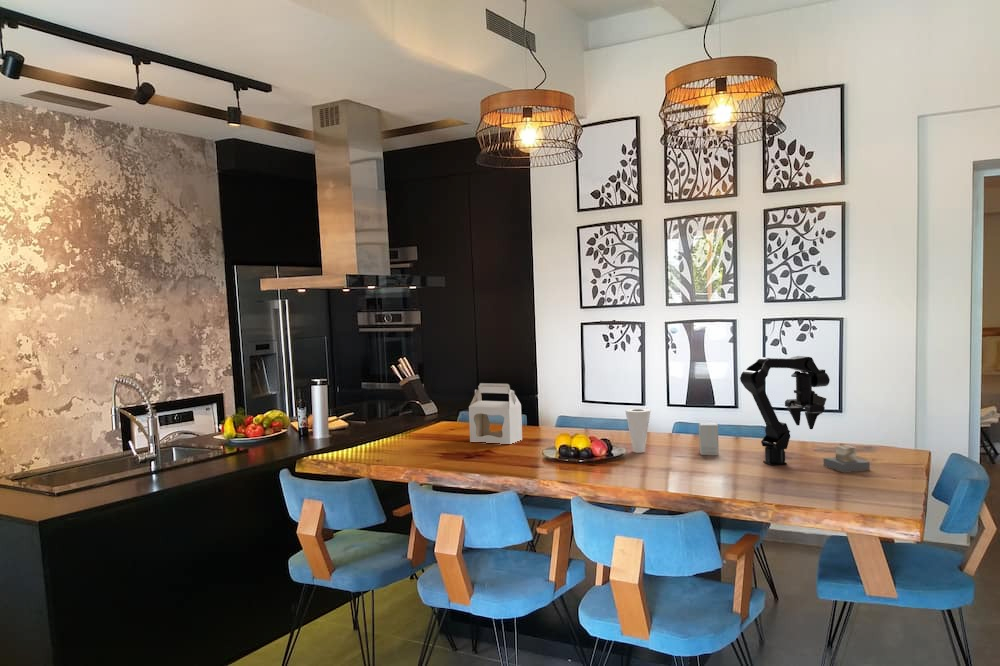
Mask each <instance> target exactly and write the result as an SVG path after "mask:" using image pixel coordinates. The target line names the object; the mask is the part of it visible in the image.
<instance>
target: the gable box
mask: <svg viewBox="0 0 1000 666" xmlns="http://www.w3.org/2000/svg"><path fill="white" fill-rule="evenodd" d="M477 387H478V388H477V389H474V395H473V397H472V400H471V402H470V403H469V406H468V418H469V424H468V425H469V443H471V442H486V443H500V444H499V445H501V444H512V443H514V444H516V443H518V442H517V441H519V442H521V441H523V424H522V423H523V422H522V420H523V418H522V416H523V415H522V404H521V402H520V400H519V399H518V397H517V395H516V391H515V390H513V389H511V385H510V384H509V383H495V382H494V383H492V382H490V383H487V382H486V383H485V382H480V383H479V385H478V386H477ZM482 394H506V395H507V394H508V401H507V400H506V401H505V400H482ZM488 416H502V417H503V419H504V420H503V424H502V428H501V429H500V430H497V431H492V430H491V429H490V426H491V425H490V424H491V422H490V420H489V417H488ZM520 440H521V441H520ZM515 442H516V443H515ZM486 443H485V444H486ZM512 445H513V444H512Z"/></svg>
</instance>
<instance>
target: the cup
mask: <svg viewBox="0 0 1000 666" xmlns="http://www.w3.org/2000/svg"><path fill="white" fill-rule="evenodd" d="M625 415H626V419H627V426H628V431H629V435H630V441H631V446H632V451H633V453H636V454H637V453H638V454H641V453H645V452H646V445H647V437H648V430H649V424H650V417H651V409H648V408H639V407H638V408H627V409H625Z"/></svg>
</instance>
